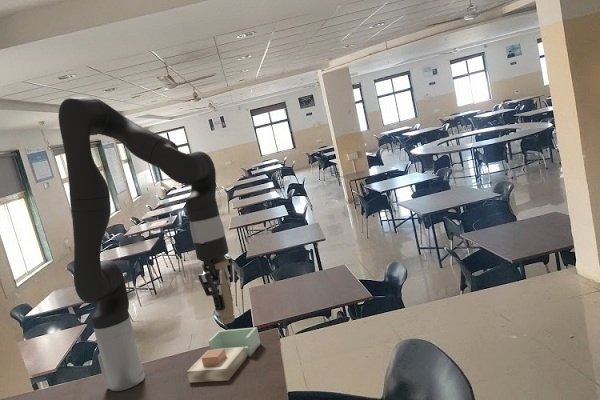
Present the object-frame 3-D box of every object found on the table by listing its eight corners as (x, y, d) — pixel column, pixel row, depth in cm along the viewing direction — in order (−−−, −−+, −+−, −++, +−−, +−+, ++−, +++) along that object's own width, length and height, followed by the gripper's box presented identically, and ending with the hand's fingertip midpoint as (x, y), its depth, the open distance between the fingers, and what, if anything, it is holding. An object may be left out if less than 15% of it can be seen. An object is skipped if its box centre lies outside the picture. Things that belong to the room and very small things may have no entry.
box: (211, 359, 140) (207, 342, 140) (222, 347, 147) (218, 330, 147) (251, 356, 137) (247, 338, 136) (260, 343, 144) (256, 327, 143)
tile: (203, 365, 130) (201, 358, 130) (210, 357, 134) (209, 350, 134) (218, 364, 128) (217, 356, 128) (226, 355, 133) (224, 348, 132)
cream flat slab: (189, 382, 129) (186, 371, 128) (210, 360, 140) (208, 349, 140) (228, 380, 125) (226, 368, 125) (246, 357, 137) (244, 346, 136)
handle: (235, 325, 119) (221, 263, 117) (211, 326, 121) (197, 266, 119) (244, 317, 123) (231, 257, 121) (222, 318, 126) (208, 259, 124)
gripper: (208, 231, 127) (222, 297, 130) (179, 246, 114) (197, 319, 116) (235, 227, 125) (249, 294, 127) (209, 242, 112) (226, 316, 114)
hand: (224, 306), depth 122 cm, fingers closed on handle, 4 cm apart
